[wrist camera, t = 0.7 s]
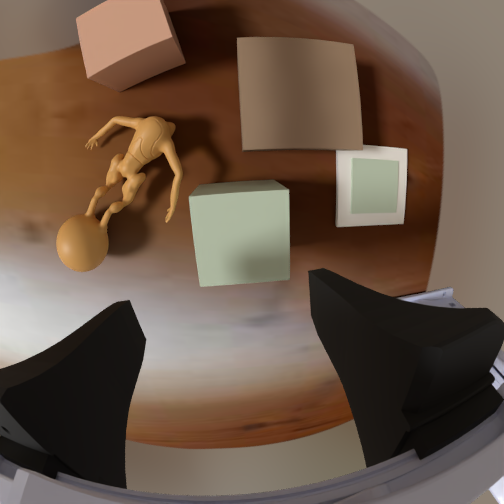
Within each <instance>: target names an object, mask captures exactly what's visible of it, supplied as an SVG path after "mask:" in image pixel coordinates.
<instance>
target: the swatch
mask: <svg viewBox="0 0 504 504" xmlns="http://www.w3.org/2000/svg"><path fill="white" fill-rule="evenodd" d="M406 182H407V149H401V148H393V147H383V146H371V145H363V150H351V151H340V150H336V225H335V226H337V227H349V226H368V225H390V224H404V213H405V200H406Z"/></svg>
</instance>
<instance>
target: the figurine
mask: <svg viewBox="0 0 504 504" xmlns="http://www.w3.org/2000/svg"><path fill="white" fill-rule="evenodd" d="M116 124H120V125H123V126H127V127H131V128H134V129H136V132H135V135H134V137H133V139H132V142H131V144H130V146H129V149H128V152H127V153H126V155H125V157H124V155H123V154H117V155H116V156H115V157H114V158H113V159H112V161H111V166H110V168H109V171H108V173H107V178H106V185H105V186H101V187H99V188H98V189H97V190H96V192H95V195H94V197H93V198H92V200H91V203H90V205H89V208H88V210H87V212H86V213H85V214H80V215H75V216H73V217H71V218H69V219H68V220H67V221H66V222H65V223H64V224H63V225H62V226H61V228H60V230H59V232H58V235H57V251H58V254H59V257H60V259H61V260H62V262H63V263H64V264H65V265H66V266H67V267H69V268H70V269H72V270H74V271H78V272H87V271H90V270H93V269H95V268H96V267H98V266H99V265H100V264H101V263H102V261H103V260H104V258H105V257H106V254H107V251H108V246H109V240H108V234H107V229H108V226H107V224H108V221H109V219H110V216H111V214H112V213H117V212H119V211H121V209H122V208H123V207H125V206H127V205H128V204H130V203H132V202H133V200H134V197H135V195H136V192H137V190H138V188H139V186H140V185H141V184H142V183H143V182H144V181H145V178H146V175H145V174H144V173H139V174H137V173H138V171H139V170H140V169H141V168H142V167H143V166H144V165H145V164H147V163H149V162H150V161H151V160H153V159H156V158H157V157H159V156H160V155H161V154H162V153H164V154H165V156H166V158H167V160H168V162H169V164H170V166H171V168H172V170H173V171H174V173H175V177H174V180H173V186H172V190H171V197H170V200H171V207H170V208H169V209H168V210H167V211H169V213H168V214H167V216H166V218H165V219H167V220H166V223H167V222H168V221H169V220H170V218H171V216H172V214H173V212H174V210H175V207H176V203H177V200H178V194H179V186H180V183H181V180H182V176H183V171H182V166H181V163H180V161H179V158H178V156H177V154H176V151H175V146H174V143H173V141H172V139H171V136H172V134H173V133H174V131H175V128H176V126H175V124H174V123H172V122H166V121H165V120H164V119H162V118H161V117H157V116H151V117H148V118H146V119H145V118H141V117H138V118H131V117H126V116H116V117H114V118H112V119H111V120H110V121H109V122H108V123H107V124H106V125H105V126H104V127H103V128H102V129H100V130H99V132H98V133H97V134H96V135H94V136H93V137H92V138H91V139H90V140H89V142H88V143H87V145H88V144H89V146H88V148H89V147H90V145H91V144H92V146H91V150H92V148H93V146H94V144H95V143H96V146H97V145H98V140H97V139H98V138H100V137H101V136H103V135H104V134H106V133H107V132H108V131H109V130H110V129H111V128H113V127H114V126H115V125H116ZM87 145H86V146H85V147H87ZM88 148H87V149H88ZM123 177H127V181H126V182H125V183H124V185H123V187H122V191H123V195H124V197H123V200H122V202H114V203H112V204H111V206H110V208H109V209H108V210H107V211H106V212H105V214H104V216H103V218H102V220H101V222H100V221H99V220H98V219H96V217H95V214H94V212H95V208H96V205H97V201H98V199H99V198H101V197H103V196H105V194H106V193H107V191H109V190H110V189H111V188H112V187H113V186H115V185H116V183H118V182H120V181H121V180H122V179H123Z"/></svg>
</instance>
